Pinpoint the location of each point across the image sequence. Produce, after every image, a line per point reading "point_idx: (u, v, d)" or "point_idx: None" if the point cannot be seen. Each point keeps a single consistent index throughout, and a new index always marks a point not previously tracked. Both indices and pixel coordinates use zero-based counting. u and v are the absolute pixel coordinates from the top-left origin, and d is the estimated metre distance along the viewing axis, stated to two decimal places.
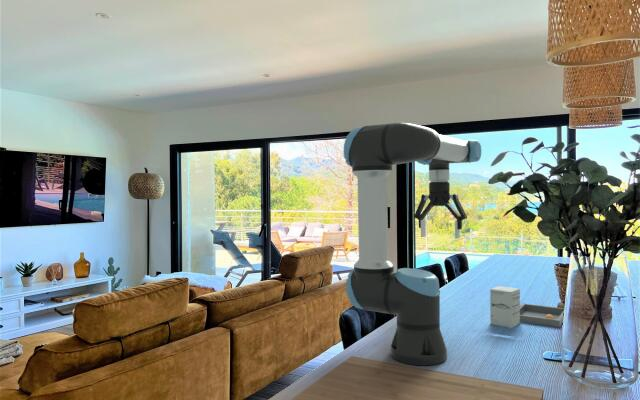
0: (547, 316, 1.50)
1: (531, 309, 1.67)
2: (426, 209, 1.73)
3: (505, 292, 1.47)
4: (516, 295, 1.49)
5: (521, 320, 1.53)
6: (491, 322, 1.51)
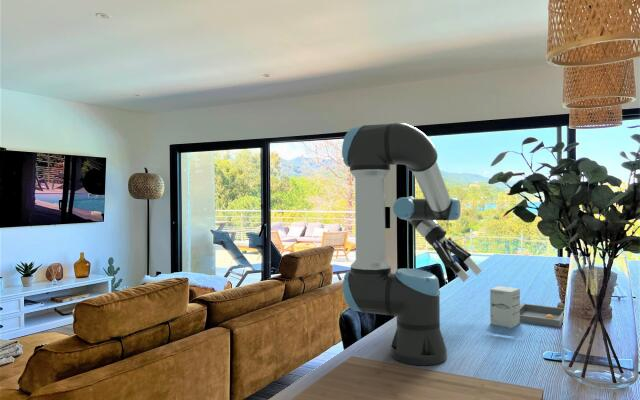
0: (547, 316, 1.50)
1: (531, 309, 1.67)
2: None
3: (505, 292, 1.47)
4: (516, 295, 1.49)
5: (521, 320, 1.53)
6: (491, 322, 1.51)
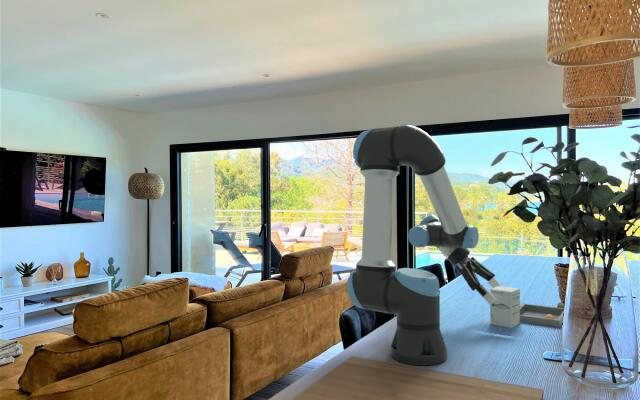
0: (547, 316, 1.50)
1: (531, 309, 1.67)
2: None
3: (505, 292, 1.47)
4: (516, 295, 1.49)
5: (521, 320, 1.53)
6: (491, 322, 1.51)
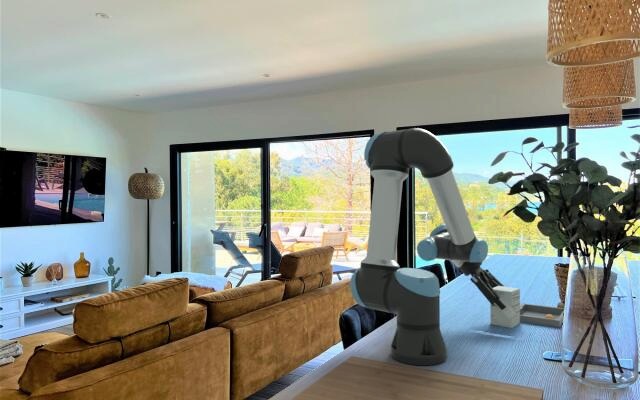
0: (547, 316, 1.50)
1: (531, 309, 1.67)
2: None
3: (505, 292, 1.47)
4: (516, 295, 1.49)
5: (521, 320, 1.53)
6: (491, 322, 1.51)
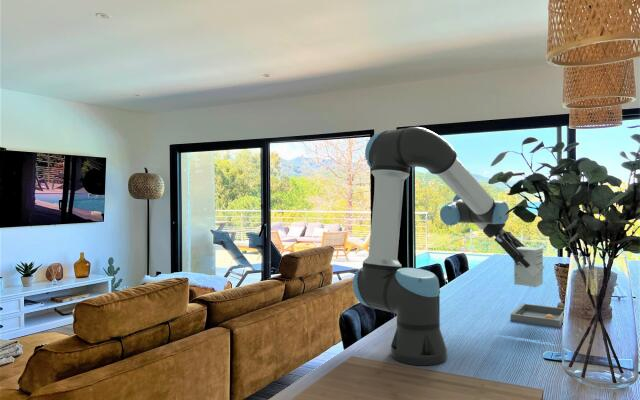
0: (547, 316, 1.50)
1: (531, 309, 1.67)
2: None
3: (529, 251, 1.52)
4: (539, 253, 1.53)
5: (521, 320, 1.53)
6: (515, 281, 1.55)
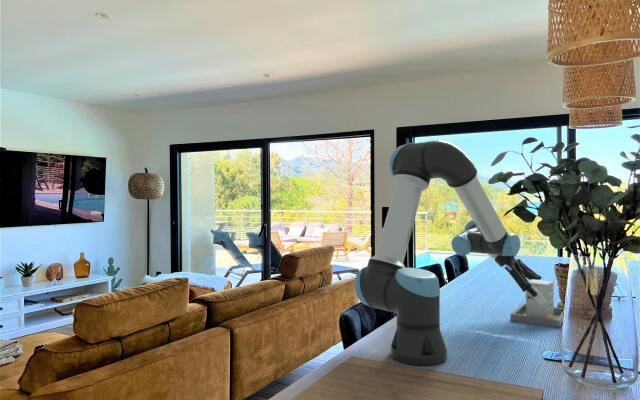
0: (547, 316, 1.50)
1: None
2: None
3: (541, 285, 1.54)
4: (551, 287, 1.55)
5: (521, 320, 1.53)
6: (527, 314, 1.57)
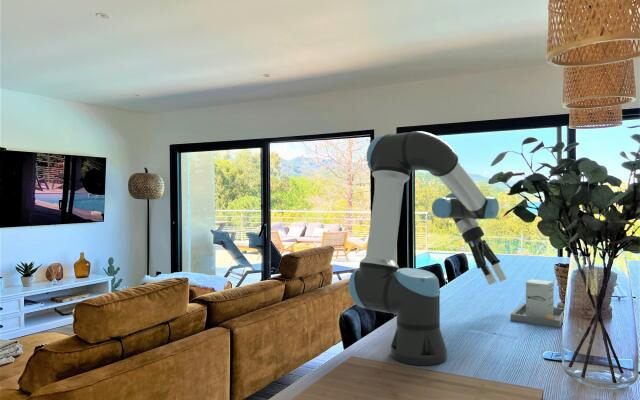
0: (547, 316, 1.50)
1: None
2: None
3: (541, 285, 1.54)
4: (551, 287, 1.55)
5: (521, 320, 1.53)
6: (527, 314, 1.57)
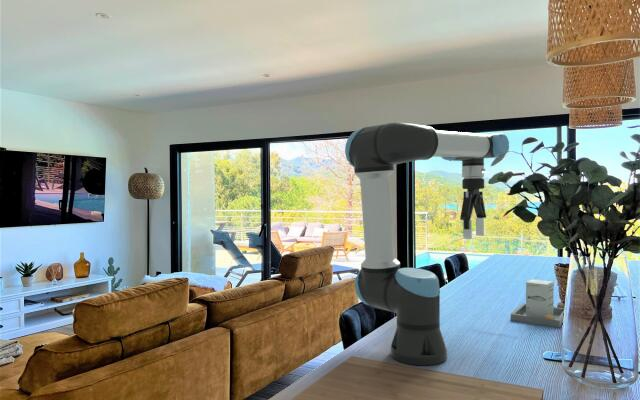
0: (547, 316, 1.50)
1: None
2: None
3: (541, 285, 1.54)
4: (551, 287, 1.55)
5: (521, 320, 1.53)
6: (527, 314, 1.57)
